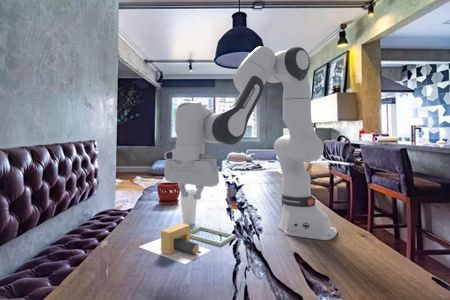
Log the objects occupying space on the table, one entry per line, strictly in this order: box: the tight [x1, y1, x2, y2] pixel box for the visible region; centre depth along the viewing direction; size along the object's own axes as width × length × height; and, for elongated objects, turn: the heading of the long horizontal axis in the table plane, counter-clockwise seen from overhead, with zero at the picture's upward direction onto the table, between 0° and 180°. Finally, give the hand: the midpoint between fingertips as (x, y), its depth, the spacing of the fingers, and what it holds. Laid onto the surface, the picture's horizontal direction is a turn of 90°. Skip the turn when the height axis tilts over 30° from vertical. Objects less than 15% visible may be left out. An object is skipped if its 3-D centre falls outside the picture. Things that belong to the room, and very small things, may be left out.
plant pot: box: [156, 181, 181, 206], centre depth 156 cm, size 13×13×12 cm
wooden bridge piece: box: [160, 222, 191, 255], centre depth 88 cm, size 4×9×7 cm, turn 144°
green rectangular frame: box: [190, 225, 236, 247], centre depth 99 cm, size 17×9×2 cm, turn 54°
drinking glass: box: [180, 189, 198, 226], centre depth 116 cm, size 7×7×15 cm
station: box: [138, 237, 212, 265], centre depth 89 cm, size 22×12×2 cm, turn 54°
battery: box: [173, 238, 200, 255], centre depth 88 cm, size 13×4×4 cm, turn 54°
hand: (190, 198), depth 84 cm, fingers open, 4 cm apart
